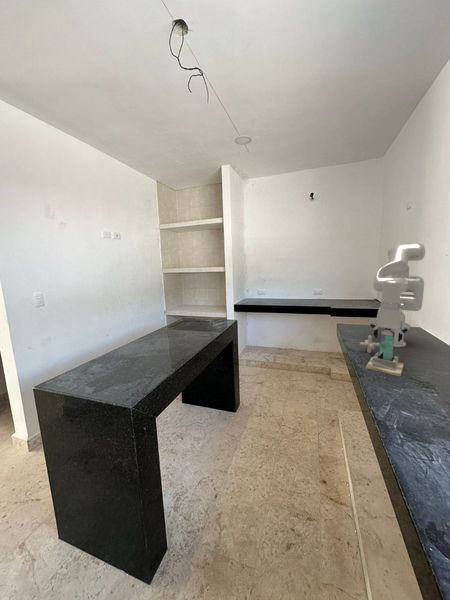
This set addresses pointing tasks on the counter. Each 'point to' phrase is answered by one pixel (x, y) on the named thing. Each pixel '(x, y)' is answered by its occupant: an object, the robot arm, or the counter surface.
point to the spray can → (386, 344)
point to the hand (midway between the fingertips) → (387, 338)
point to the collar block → (385, 365)
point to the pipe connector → (369, 344)
